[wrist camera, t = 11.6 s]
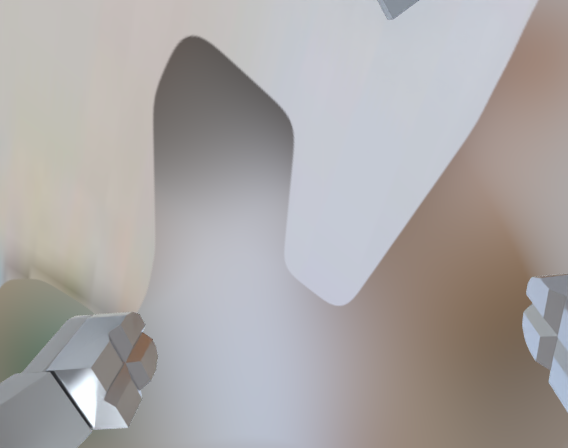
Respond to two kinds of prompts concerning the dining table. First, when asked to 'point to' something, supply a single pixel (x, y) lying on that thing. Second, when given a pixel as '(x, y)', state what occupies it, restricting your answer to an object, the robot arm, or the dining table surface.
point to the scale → (395, 7)
